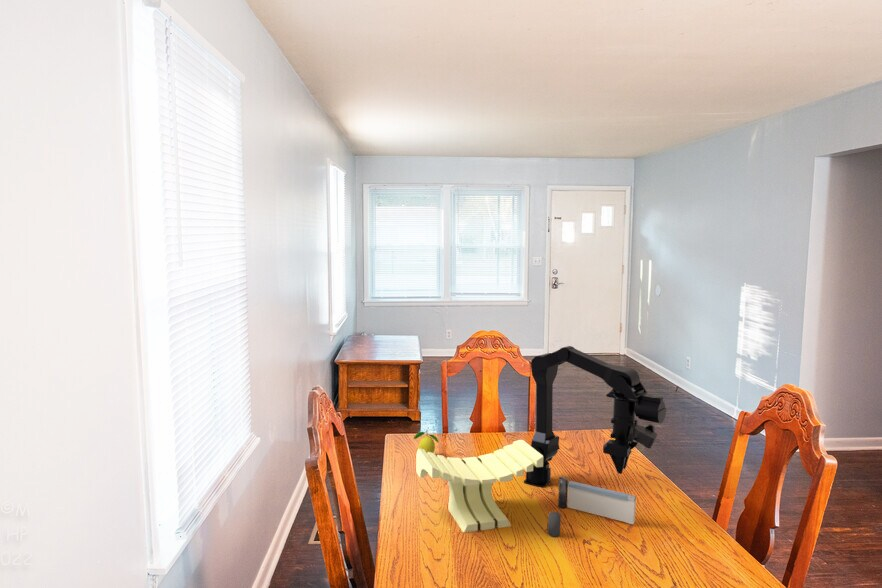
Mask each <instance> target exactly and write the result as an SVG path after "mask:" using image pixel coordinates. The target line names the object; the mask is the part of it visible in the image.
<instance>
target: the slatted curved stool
mask: <svg viewBox="0 0 882 588" xmlns="http://www.w3.org/2000/svg"><path fill="white" fill-rule="evenodd" d="M415 457H416V458H415V459H416V460H415V461H416V462H415V465H416V466H415V467H416V468H415V470H416V471H415V473H416V474H417V475H418V477H419V479H421V478H423V477H424V478H425V477H427V476H428V475H429V476H430V477H431V479H439V478H440V479H441V480H442V481H443V482H446V481H447V484H448V488H449V498H448V504H447V505H448V506H447V508H448V511H449V513H450V514H451V516H452V517H453V518H454V521H455V522H456V523H457V525H458V527H459V529H460V530H461V531H462V533H470V532H478V530H480V531H484V530H485V531H486V530H493V529H496V527H497V528H498V529H501V528H507V527H512V525H511V523H510V521H509V519H508V517H506V515H505V514H504V513H503V511H502V510H501V509H500V508H499V506H498V505H497V503H496V501H495V500H494V497H493V493H492V486H493V484H494V483H496V482H497V481H498V482H499V483H503V482H504V483H505V482H510V481H512V482H513V481H514V476H515V477H523V476H524V471H525V473H526V472H531V471H533V465H534V466H535V467H543V455H541V454H540V453H539V452H538V451H536V450H535V449H534V448H532V447H531V444H529V443H527V442H526V441H525V440H524V439H518V440H514V441H513V442H512V443H511V444H508V445H507V444H506V445H504V446H503V448H500V449H497V450H494V451H493V453H492V452H491V453H490V452H489V453H486V454H480V455H478V457H476V456H469V457H468V456H467V457H462V459H461V457H449V456H448V457H445V456H444V455H441V454H437V455H436V453H435V452H434V453H431V452H428V453H426V451H425V450H424V449H419V448H418V449H417V451H416V456H415Z"/></svg>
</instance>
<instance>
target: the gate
mask: <svg viewBox="0 0 882 588" xmlns="http://www.w3.org/2000/svg"><path fill="white" fill-rule="evenodd" d="M636 502H637V495H633V494H630V493H626V492H621V491H617V490H611V489H607V488H603V487H598V486H596V485H595V486H594V485H590V484H585V483H581V482H577V481H572V480H569V481H568V493H567V508H569V509H573V510H576V511H580V512H584V513H588V514H589V513H590V514H591V515H592V514H593V515H596V516H601V517H604V518H608V519H612V520H616V521H620V522H624V523H626V524H630V525H634V524H635V519H636Z"/></svg>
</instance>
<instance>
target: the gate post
mask: <svg viewBox="0 0 882 588" xmlns="http://www.w3.org/2000/svg"><path fill="white" fill-rule="evenodd" d="M568 483H569V479H568V478H567V477H565V476H564V477H563V476H560V477H559V478H558V501H557V502H558V503H557V506H558V508H559V509H561V510H562V509H567V508H568Z"/></svg>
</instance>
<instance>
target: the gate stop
mask: <svg viewBox="0 0 882 588" xmlns="http://www.w3.org/2000/svg"><path fill="white" fill-rule="evenodd" d="M561 516H562V515H561V514H560V513H559V512H556V511H550V512H549V513H548V518H547V519H548V521H547V522H548V524H547V535H548V536H550V537H553V538H557V537H560V536H561V520H562V518H561Z"/></svg>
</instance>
